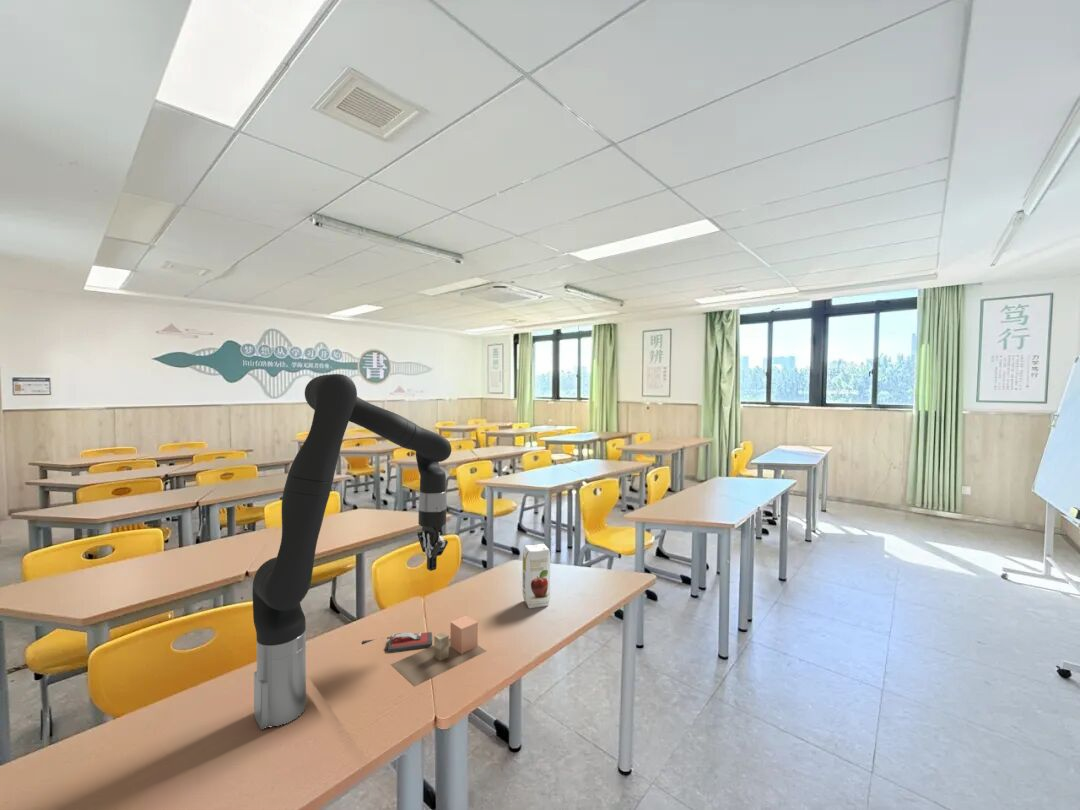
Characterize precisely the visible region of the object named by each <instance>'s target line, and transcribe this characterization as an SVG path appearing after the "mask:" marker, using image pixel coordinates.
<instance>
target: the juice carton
mask: <svg viewBox="0 0 1080 810" xmlns="http://www.w3.org/2000/svg"><path fill="white" fill-rule="evenodd" d="M521 590H522V591H521V592H522V596H523V597H522V598H523V601H524V603H525V604H526V606H527V607H528V609H536V608H541V607H542V608H543V607H549V605H550V600H551V553H550V548H549V547H548V546H546V544H544V543H539V544H538V543H537V544H532V545H531V544H529V545H526V544H525V545H524V547H523V552H522V589H521Z"/></svg>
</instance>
